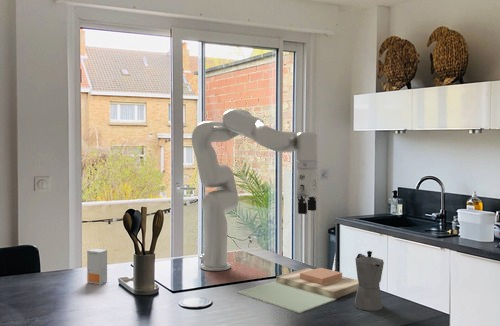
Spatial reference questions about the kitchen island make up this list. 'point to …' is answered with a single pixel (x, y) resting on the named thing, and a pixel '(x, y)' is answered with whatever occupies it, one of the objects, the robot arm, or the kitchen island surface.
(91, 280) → the skincare box
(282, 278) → the board
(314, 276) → the terracotta tile
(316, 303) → the sage mat
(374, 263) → the coffeepot
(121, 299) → the kitchen island surface
